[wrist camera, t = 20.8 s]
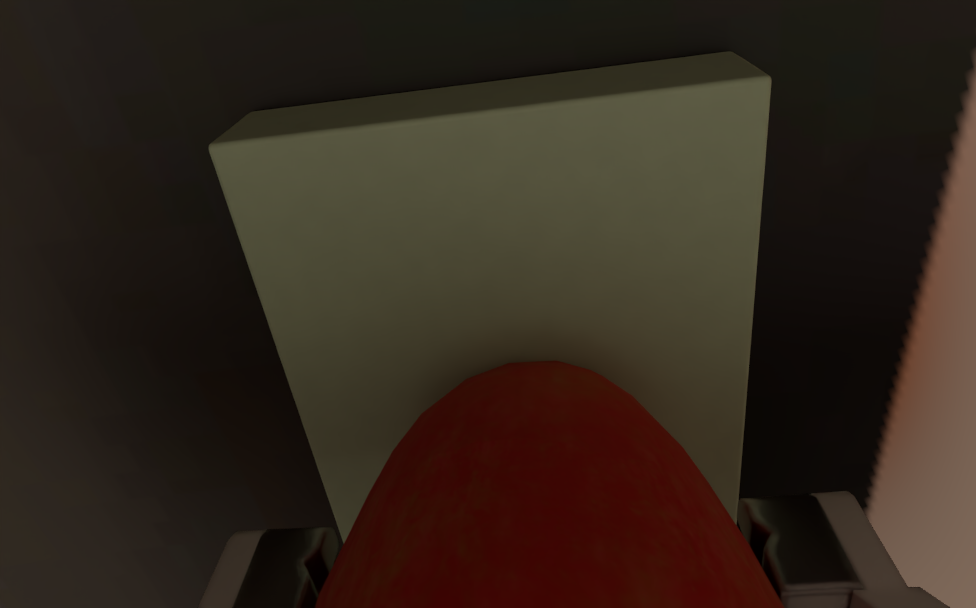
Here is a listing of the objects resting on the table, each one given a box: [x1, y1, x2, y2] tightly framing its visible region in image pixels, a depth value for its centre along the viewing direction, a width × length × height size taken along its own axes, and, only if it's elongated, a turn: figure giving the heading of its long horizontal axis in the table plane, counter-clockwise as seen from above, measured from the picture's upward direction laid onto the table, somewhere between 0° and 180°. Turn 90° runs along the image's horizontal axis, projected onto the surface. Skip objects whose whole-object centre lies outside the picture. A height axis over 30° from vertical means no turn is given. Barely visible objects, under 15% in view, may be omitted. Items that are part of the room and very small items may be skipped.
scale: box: [209, 51, 772, 543], centre depth 13 cm, size 15×9×4 cm, turn 7°
